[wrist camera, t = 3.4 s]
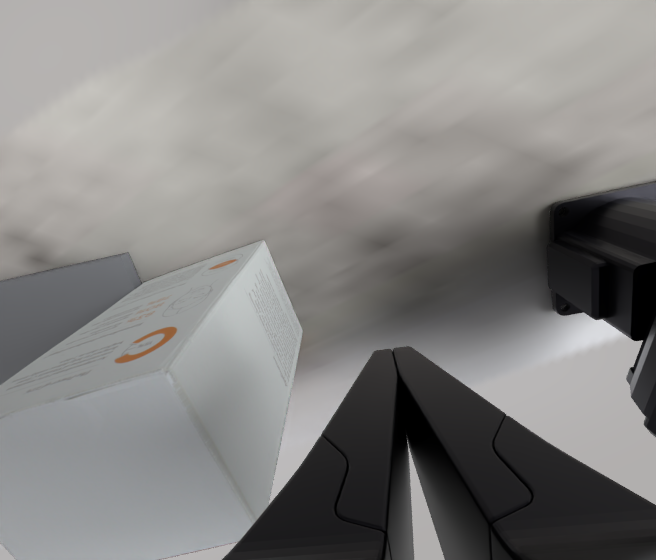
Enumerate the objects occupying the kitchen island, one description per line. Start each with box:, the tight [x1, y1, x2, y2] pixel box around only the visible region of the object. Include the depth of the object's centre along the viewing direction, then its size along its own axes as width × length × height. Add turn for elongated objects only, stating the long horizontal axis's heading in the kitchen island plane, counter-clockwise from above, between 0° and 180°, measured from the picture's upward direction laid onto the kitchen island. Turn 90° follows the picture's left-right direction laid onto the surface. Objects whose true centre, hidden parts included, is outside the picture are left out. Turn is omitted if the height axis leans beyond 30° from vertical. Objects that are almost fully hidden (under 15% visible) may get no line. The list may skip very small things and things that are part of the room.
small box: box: [0, 240, 303, 560], centre depth 17 cm, size 8×6×13 cm
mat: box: [0, 253, 141, 385], centre depth 24 cm, size 15×11×1 cm
